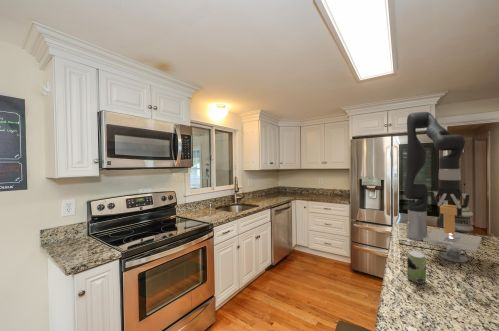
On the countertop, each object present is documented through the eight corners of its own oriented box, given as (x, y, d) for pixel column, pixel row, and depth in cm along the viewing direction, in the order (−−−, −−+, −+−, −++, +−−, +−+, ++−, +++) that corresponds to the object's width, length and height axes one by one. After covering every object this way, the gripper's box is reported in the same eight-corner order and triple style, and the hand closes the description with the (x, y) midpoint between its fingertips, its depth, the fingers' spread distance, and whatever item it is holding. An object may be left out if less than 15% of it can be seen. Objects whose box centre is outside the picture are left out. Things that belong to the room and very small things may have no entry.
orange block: (440, 232, 104) (439, 206, 103) (443, 229, 108) (443, 204, 108) (456, 235, 99) (456, 208, 99) (459, 231, 104) (459, 205, 103)
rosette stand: (423, 260, 108) (422, 234, 108) (433, 248, 121) (433, 225, 120) (476, 274, 94) (476, 245, 94) (481, 259, 107) (481, 233, 106)
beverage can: (422, 277, 93) (421, 249, 93) (429, 287, 87) (429, 256, 86) (404, 275, 96) (404, 247, 95) (410, 285, 89) (410, 255, 88)
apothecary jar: (450, 237, 135) (449, 208, 135) (444, 231, 146) (443, 204, 145) (477, 240, 130) (477, 209, 129) (468, 233, 140) (468, 205, 140)
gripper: (427, 178, 106) (428, 214, 107) (469, 180, 95) (470, 219, 96) (431, 177, 111) (432, 211, 111) (472, 178, 100) (472, 216, 100)
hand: (449, 214), depth 104 cm, fingers closed on orange block, 5 cm apart
